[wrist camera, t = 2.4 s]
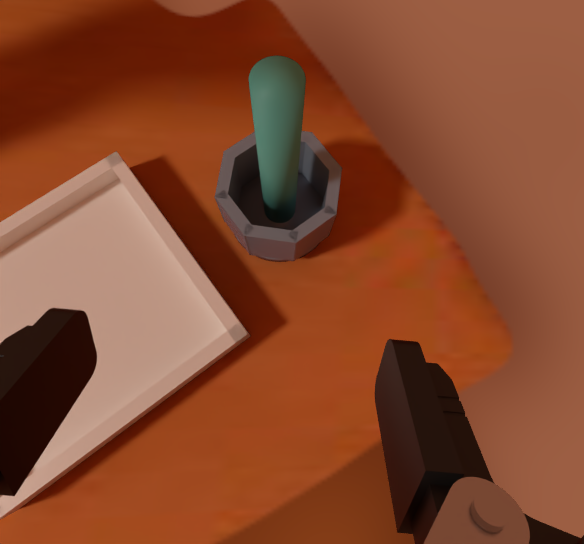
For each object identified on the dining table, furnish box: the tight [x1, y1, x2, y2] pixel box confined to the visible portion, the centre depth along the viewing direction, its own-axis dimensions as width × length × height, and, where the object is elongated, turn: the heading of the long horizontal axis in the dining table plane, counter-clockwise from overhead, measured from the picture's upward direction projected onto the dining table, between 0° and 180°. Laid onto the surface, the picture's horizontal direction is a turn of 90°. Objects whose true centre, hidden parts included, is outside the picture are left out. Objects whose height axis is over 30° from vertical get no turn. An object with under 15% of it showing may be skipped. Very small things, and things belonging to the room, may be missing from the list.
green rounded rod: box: [249, 56, 306, 223], centre depth 23 cm, size 2×2×14 cm
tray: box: [0, 151, 250, 520], centre depth 27 cm, size 17×19×2 cm
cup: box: [214, 131, 342, 262], centre depth 28 cm, size 8×8×6 cm
